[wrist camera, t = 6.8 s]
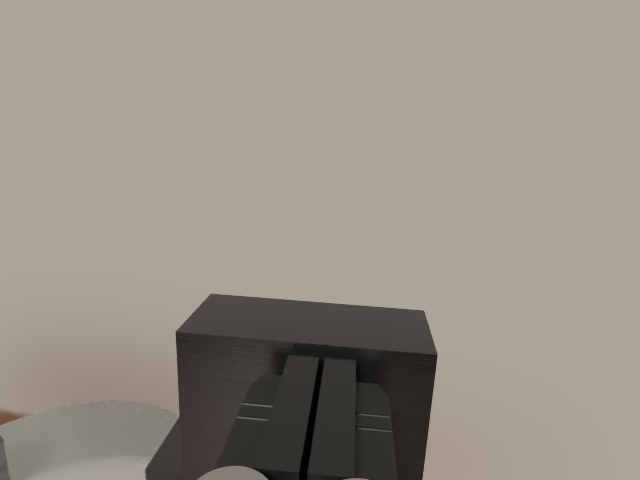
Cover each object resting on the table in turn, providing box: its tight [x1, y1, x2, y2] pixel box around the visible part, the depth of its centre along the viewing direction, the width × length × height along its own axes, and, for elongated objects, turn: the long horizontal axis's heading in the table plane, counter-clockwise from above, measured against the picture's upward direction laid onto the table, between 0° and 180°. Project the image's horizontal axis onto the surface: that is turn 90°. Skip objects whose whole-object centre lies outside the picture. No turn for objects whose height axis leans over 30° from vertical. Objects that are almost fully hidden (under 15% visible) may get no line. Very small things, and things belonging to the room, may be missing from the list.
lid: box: [0, 294, 437, 480], centre depth 13 cm, size 16×11×8 cm, turn 84°
